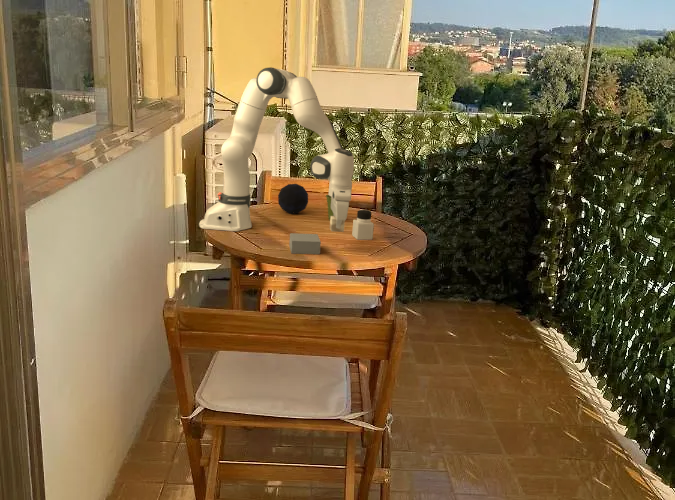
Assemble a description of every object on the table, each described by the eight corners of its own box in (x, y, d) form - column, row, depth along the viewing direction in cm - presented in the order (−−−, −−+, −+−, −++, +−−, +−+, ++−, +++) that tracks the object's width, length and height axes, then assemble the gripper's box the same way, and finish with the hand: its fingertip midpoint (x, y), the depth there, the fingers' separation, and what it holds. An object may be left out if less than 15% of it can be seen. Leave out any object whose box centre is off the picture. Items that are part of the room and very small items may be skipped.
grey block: (291, 253, 243) (292, 240, 241) (289, 245, 253) (289, 233, 252) (319, 254, 245) (320, 241, 243) (316, 246, 255) (317, 234, 254)
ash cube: (331, 231, 248) (332, 218, 246) (329, 228, 252) (330, 215, 251) (343, 231, 248) (344, 219, 247) (341, 228, 253) (343, 216, 252)
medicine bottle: (372, 239, 271) (375, 212, 267) (356, 239, 269) (359, 212, 265) (367, 235, 277) (369, 208, 274) (351, 235, 275) (354, 208, 272)
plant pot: (344, 224, 293) (346, 200, 290) (320, 220, 297) (321, 197, 293) (352, 219, 304) (354, 196, 301) (328, 215, 307) (330, 192, 304)
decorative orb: (287, 196, 318) (281, 175, 306) (315, 200, 313) (309, 179, 301) (277, 217, 310) (270, 196, 298) (305, 222, 305) (299, 201, 294)
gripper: (328, 185, 255) (325, 219, 259) (335, 196, 236) (332, 232, 240) (344, 186, 256) (341, 219, 260) (352, 197, 237) (348, 233, 241)
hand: (336, 225), depth 250 cm, fingers closed on ash cube, 5 cm apart
